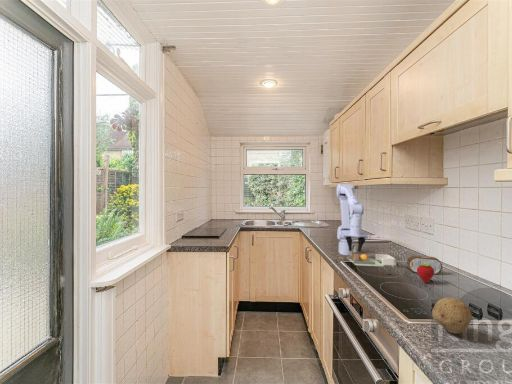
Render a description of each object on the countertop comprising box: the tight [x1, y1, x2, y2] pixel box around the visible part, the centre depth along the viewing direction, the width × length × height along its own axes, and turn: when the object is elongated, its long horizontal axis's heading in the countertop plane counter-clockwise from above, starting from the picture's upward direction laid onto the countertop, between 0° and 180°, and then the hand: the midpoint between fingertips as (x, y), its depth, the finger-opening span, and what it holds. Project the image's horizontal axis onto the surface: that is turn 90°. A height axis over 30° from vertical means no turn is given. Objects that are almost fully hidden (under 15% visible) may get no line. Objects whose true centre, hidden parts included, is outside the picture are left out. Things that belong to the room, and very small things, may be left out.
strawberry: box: [416, 263, 434, 284], centre depth 121 cm, size 6×8×10 cm
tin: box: [406, 254, 443, 276], centre depth 136 cm, size 15×3×8 cm, turn 74°
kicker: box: [349, 245, 360, 261], centre depth 150 cm, size 8×2×8 cm, turn 178°
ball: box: [359, 253, 369, 261], centre depth 150 cm, size 4×4×4 cm
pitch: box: [346, 253, 397, 267], centre depth 149 cm, size 16×22×4 cm
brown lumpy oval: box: [431, 297, 473, 335], centre depth 79 cm, size 9×9×10 cm
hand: (354, 251), depth 150 cm, fingers open, 4 cm apart
